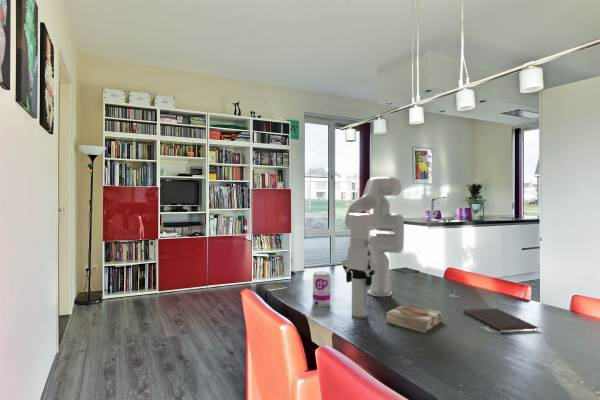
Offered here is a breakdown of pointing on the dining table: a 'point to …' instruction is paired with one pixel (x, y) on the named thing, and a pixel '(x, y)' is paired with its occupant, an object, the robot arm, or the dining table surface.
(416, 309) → the cream panel copper ring
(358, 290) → the travel mug
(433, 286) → the dining table surface
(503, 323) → the hardcover book
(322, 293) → the supplement can
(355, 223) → the robot arm
